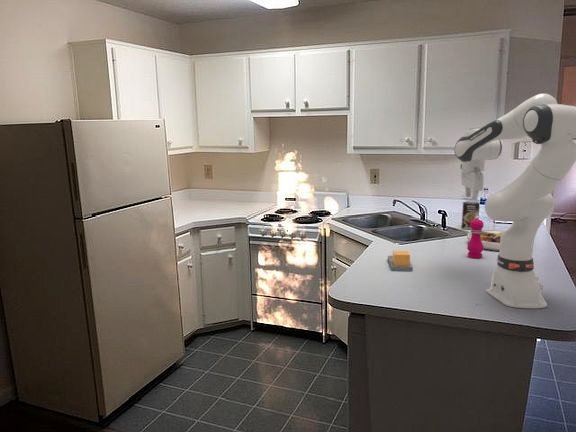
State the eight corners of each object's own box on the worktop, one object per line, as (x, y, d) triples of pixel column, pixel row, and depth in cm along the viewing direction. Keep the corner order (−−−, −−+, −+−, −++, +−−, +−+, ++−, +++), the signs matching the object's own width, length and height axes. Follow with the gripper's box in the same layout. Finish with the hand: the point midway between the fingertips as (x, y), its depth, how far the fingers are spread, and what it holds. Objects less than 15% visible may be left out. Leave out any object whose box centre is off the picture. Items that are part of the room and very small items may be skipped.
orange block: (409, 265, 203) (410, 255, 202) (394, 265, 204) (394, 254, 203) (407, 261, 210) (407, 250, 209) (392, 261, 210) (392, 250, 209)
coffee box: (461, 229, 279) (463, 203, 276) (461, 227, 285) (462, 201, 282) (478, 230, 276) (479, 203, 273) (477, 228, 282) (478, 202, 279)
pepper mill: (484, 259, 218) (487, 217, 214) (468, 258, 220) (470, 217, 216) (481, 255, 225) (483, 214, 221) (465, 254, 227) (467, 214, 223)
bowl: (465, 237, 262) (466, 223, 260) (524, 240, 252) (525, 226, 251) (468, 251, 234) (469, 236, 232) (534, 255, 224) (536, 239, 223)
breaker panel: (412, 271, 202) (412, 265, 202) (391, 270, 203) (391, 264, 203) (406, 260, 219) (407, 254, 218) (387, 259, 220) (387, 254, 219)
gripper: (488, 168, 187) (486, 202, 190) (474, 164, 207) (472, 194, 210) (472, 168, 188) (470, 202, 191) (459, 164, 208) (457, 194, 211)
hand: (471, 198), depth 201 cm, fingers open, 8 cm apart
